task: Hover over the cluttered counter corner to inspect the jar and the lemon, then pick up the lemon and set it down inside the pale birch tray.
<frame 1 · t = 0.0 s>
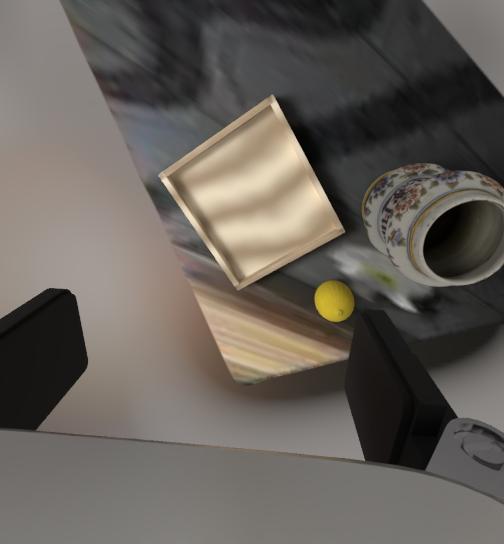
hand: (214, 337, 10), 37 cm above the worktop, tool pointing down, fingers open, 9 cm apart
birch tray: (254, 200, 46), on the worktop
lemon: (329, 288, 50), on the worktop
apothecary jar: (396, 205, 45), on the worktop
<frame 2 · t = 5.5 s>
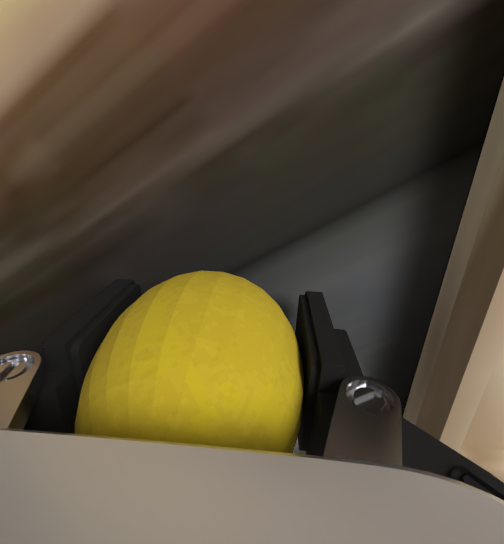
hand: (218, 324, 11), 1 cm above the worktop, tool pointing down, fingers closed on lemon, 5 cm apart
lemon: (224, 304, 13), on the worktop, touching gripper
when the fingers open (4 cm above the worktop, at t = 12.6 s): lemon drops 1 cm, resting on birch tray.
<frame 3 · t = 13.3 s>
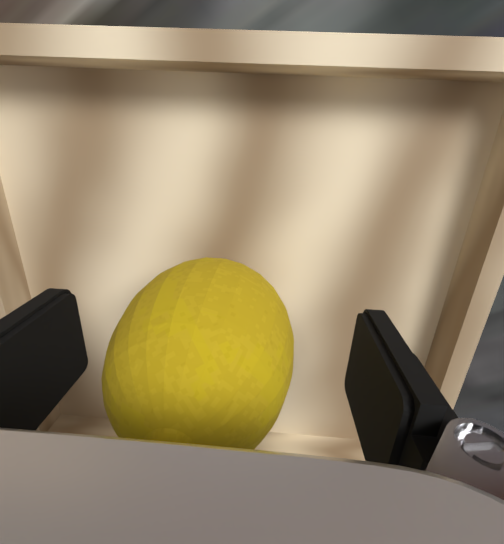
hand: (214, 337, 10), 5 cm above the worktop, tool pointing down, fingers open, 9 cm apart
birch tray: (231, 281, 15), on the worktop
lemon: (228, 290, 14), point 1 cm above the worktop, touching birch tray
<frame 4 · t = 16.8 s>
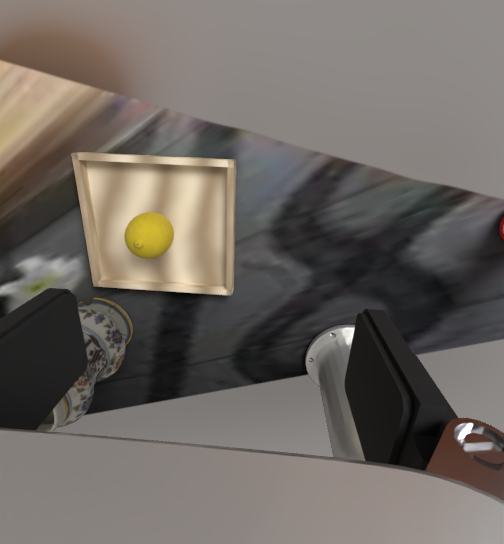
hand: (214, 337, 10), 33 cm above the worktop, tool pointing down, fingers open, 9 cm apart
birch tray: (163, 224, 44), on the worktop
lemon: (161, 226, 43), point 1 cm above the worktop, touching birch tray
apothecary jar: (103, 323, 51), on the worktop
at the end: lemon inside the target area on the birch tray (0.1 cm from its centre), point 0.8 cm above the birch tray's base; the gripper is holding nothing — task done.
